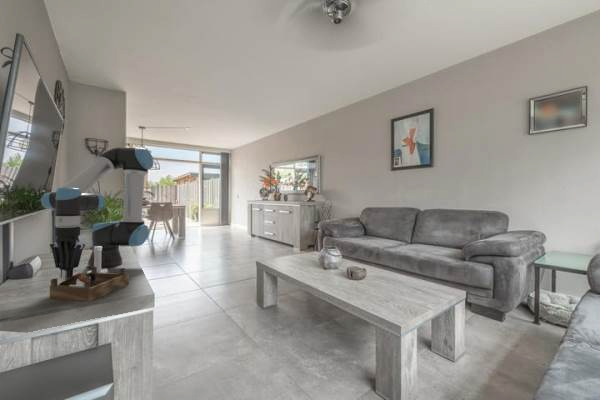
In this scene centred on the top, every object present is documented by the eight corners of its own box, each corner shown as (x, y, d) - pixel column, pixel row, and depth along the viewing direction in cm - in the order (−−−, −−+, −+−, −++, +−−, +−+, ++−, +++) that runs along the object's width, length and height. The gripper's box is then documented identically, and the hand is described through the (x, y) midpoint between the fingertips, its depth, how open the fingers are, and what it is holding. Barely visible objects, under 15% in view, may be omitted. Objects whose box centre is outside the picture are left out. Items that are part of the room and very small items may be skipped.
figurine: (107, 275, 122) (107, 244, 122) (107, 281, 115) (108, 247, 115) (87, 278, 118) (87, 245, 118) (86, 284, 110) (87, 248, 110)
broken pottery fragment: (81, 298, 96) (67, 280, 95) (63, 306, 98) (49, 289, 97) (107, 280, 108) (95, 263, 106) (90, 288, 110) (78, 272, 108)
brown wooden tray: (92, 282, 112) (93, 266, 112) (128, 284, 111) (128, 268, 111) (49, 298, 94) (50, 279, 94) (91, 300, 93) (91, 281, 93)
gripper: (43, 226, 100) (41, 287, 100) (74, 228, 99) (72, 289, 99) (62, 225, 107) (60, 281, 107) (91, 226, 106) (90, 283, 106)
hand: (66, 285), depth 103 cm, fingers closed
